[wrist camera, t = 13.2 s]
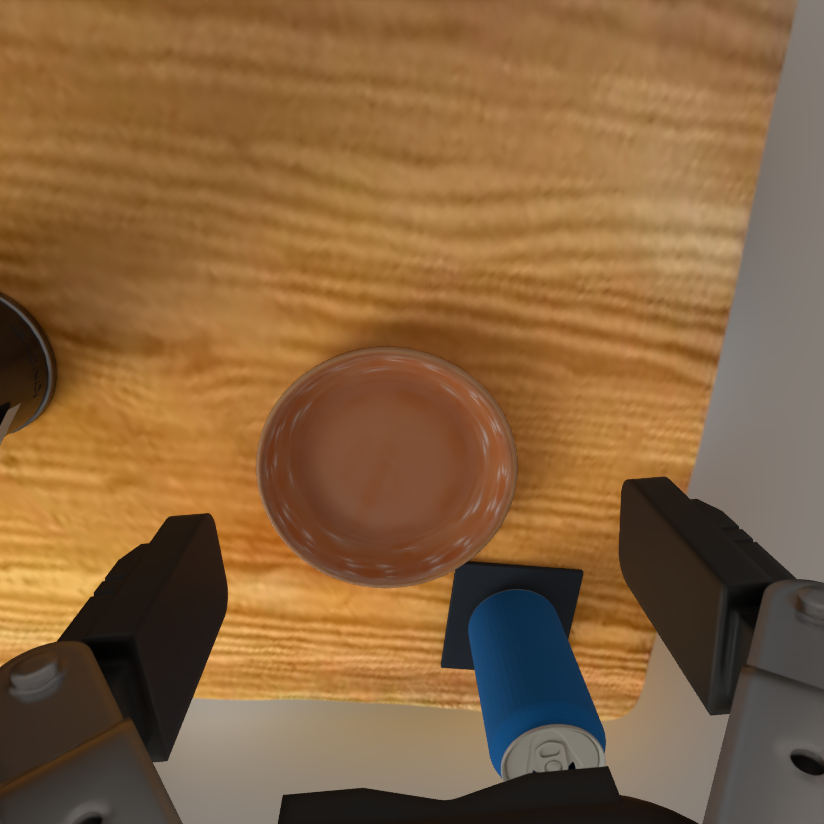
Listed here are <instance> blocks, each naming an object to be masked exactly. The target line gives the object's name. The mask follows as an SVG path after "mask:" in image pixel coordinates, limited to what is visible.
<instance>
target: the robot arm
mask: <svg viewBox="0 0 824 824" xmlns="http://www.w3.org/2000/svg"><path fill="white" fill-rule="evenodd" d="M55 385H56V363H55V358H54V354H53V351H52V348H51V345H50V343H49V341H48V339H47V337H46V335H45V333H44V332H43V330H42V329H41V327H40V326H39V324H38V323H37V322H36V321H35V319H34V318H33V317H32V316H31V315H30V314H29V313H28V312H27V311H26V310H25V309H24V308H23V307H22V306H20V305H19V304H18V303H16V302H15V301H14V300H12V299H11V298H9V297H8V296H6V295H4V294H2V293H0V444H1V442H2V440H3V438H4V437H5V436H7V435H8V434H11V433H14V432H16V431H18V430H20V429H22V428H24V427H25V426H27V425H28V424H30V423H32V422H33V421H34V420H36V419H37V418H38V417H39V416H40V415H41V414H42V413H43V412H44V410H45V409H46V408H47V406H48V404H49V403H50V401H51V399H52V396H53V393H54V390H55ZM619 561H620V567H621V571H622V574H623V577H624V579H625V582H626V583H627V585H628V587H629V588H630V590H631V591H632V593H633V594H634V596H635V598H636V599H637V601H638V602H639V604H640V606H641V607H642V609H643V610H644V612H645V613H646V615H647V617H648V618H649V620H650V621H651V623H652V624H653V626H654V628H655V629H656V631H657V632H658V634H659V635H660V637H661V639H662V640H663V642H664V643H665V645H666V646H667V648H668V650H669V651H670V653H671V654H672V656H673V657H674V659H675V660H676V662H677V664H678V665H679V667H680V668H681V670H682V672H683V673H684V675H685V676H686V678H687V680H688V681H689V682H690V684H691V686H692V687H693V689H694V691H695V692H696V694H697V695H698V696H699V698H700V700H701V701H702V703H703V705H704V706H705V708H706V710H707V711H708V712H709V714H710V715H722V714H730V716H729V719H728V724H727V727H726V731H725V736H724V740H723V743H722V748H721V752H720V755H719V760H718V763H717V768H716V772H715V776H714V780H713V784H712V788H711V792H710V796H709V800H708V804H707V808H706V812H705V816H704V820H703V824H824V583H822V582H817V581H812V580H803V579H796V578H795V577H794V576H793V575H792V574H791V573H790V572H789V571H788V570H786V569H785V568H784V567H783V566H782V565H781V564H780V563H779V562H778V561H777V560H775V559H774V558H773V557H772V556H771V555H770V554H769V553H768V552H767V551H765V550H764V549H763V548H762V547H761V546H760V545H759V544H758V543H757V542H753V539H752V538H751V537H750V536H749V535H748V534H747V533H746V532H744V530H742V529H739V526H738V525H737V524H736V523H735V522H734V521H733V520H731V519H730V518H729V517H728V516H727V515H726V514H725V513H724V512H723V511H721V510H719V509H717V508H715V507H713V506H711V505H708V504H707V503H704V502H702V501H700V500H698V499H689V498H688V497H687V496H686V495H685V494H684V493H683V492H682V491H681V490H680V489H679V488H678V487H677V486H676V485H675V484H674V483H673V482H672V481H671V480H670V479H668V478H667V477H652V478H640V479H628V480H625V482H624V483H623V486H622V491H621V510H620V532H619ZM227 602H228V587H227V580H226V575H225V570H224V565H223V560H222V555H221V550H220V545H219V540H218V535H217V530H216V526H215V522H214V519H213V517H212V516H211V515H210V514H209V513H205V514H192V515H180V516H170V517H168V518H167V519H166V520H165V522H164V523H163V525H162V526H161V528H160V529H159V530H158V532H157V533H156V535H155V536H154V537H153V539H152V540H151V542H150V543H148V544H140V545H139V546H138V547H136V548H135V549H133V550H132V551H131V552H129V553H128V554H127V555H125V556H124V557H122V558H121V559H120V560H118V562H117V563H116V564H115V566H114V567H113V568H112V569H111V571H110V572H109V573H108V575H107V576H106V577H105V581H103V582H102V583H101V584H100V585H99V587H98V588H97V589H96V591H95V592H94V596H93V597H90V598H89V600H88V601H87V602H86V604H85V605H84V606H83V608H82V609H81V610H80V612H79V613H78V614H77V616H76V617H75V618H74V619H73V621H72V622H71V623H70V625H69V626H68V627H67V629H66V630H65V631H64V633H63V634H62V635H61V637H60V638H59V639H58V641H57V642H54V643H49V644H45V645H42V646H39V647H36V648H34V649H31V650H29V651H26V652H24V653H22V654H20V655H18V656H17V657H15V658H13V659H11V660H10V661H8V662H7V663H5V664H4V665H2V666H1V667H0V824H182V821H181V819H180V817H179V815H178V813H177V811H176V809H175V807H174V805H173V803H172V801H171V799H170V797H169V795H168V793H167V791H166V789H165V787H164V785H163V783H162V780H161V778H160V776H159V775H158V772H157V770H156V768H155V766H154V764H153V762H163V761H168V758H169V756H170V753H171V751H172V748H173V745H174V743H175V740H176V738H177V736H178V733H179V730H180V728H181V725H182V723H183V720H184V718H185V715H186V713H187V710H188V708H189V705H190V703H191V700H192V698H193V695H194V693H195V690H196V688H197V685H198V683H199V680H200V678H201V675H202V673H203V670H204V668H205V665H206V662H207V660H208V657H209V655H210V652H211V650H212V647H213V645H214V642H215V640H216V637H217V635H218V632H219V630H220V627H221V625H222V622H223V620H224V617H225V614H226V610H227ZM278 824H698V823H696V822H695V821H693V820H691V819H689V818H687V817H685V816H682V815H681V814H678V813H677V812H674V811H672V810H670V809H667V808H665V807H662V806H659V805H657V804H654V803H651V802H648V801H644V800H640V799H637V798H633V797H628V796H622V795H619V793H618V790H617V787H616V785H615V782H614V780H613V777H612V775H611V772H610V770H609V767H608V766H604V767H593V768H581V769H570V770H559V771H548V772H536V773H528V774H525V775H522V776H519V777H516V778H513V779H511V780H508V781H505V782H502V783H499V784H496V785H493V786H491V787H488V788H485V789H482V790H479V791H476V792H474V793H471V794H468V795H465V796H462V797H459V798H456V799H452V800H436V799H430V798H424V797H418V796H411V795H405V794H399V793H392V792H386V791H379V790H373V789H367V788H357V789H346V790H334V791H323V792H312V793H300V794H289V795H283V797H282V803H281V808H280V815H279V820H278Z"/></svg>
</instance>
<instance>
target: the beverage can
mask: <svg viewBox="0 0 824 824" xmlns="http://www.w3.org/2000/svg"><path fill="white" fill-rule="evenodd" d="M468 635H469V640H470V646H471V652H472V657H473V663H474V669H475V674H476V680H477V686H478V691H479V697H480V703H481V708H482V714H483V720H484V725H485V731H486V737H487V742H488V748H489V754H490V759H491V761H492V764H493V766H494V768H495V770H496V771H497V773H498V774H499V775H500V776H501V778H502V779H503V782H505V781H508V780H511V779H513V778H516V777H519V776H522V775H525V774H528V773H536V772H548V771H559V770H570V769H581V768H593V767H604V766H605V762H606V761H605V754H604V753H605V746H606V739H605V732H604V729H603V726H602V724H601V721H600V719H599V716H598V714H597V711H596V709H595V706H594V704H593V701H592V699H591V696H590V694H589V691H588V689H587V686H586V684H585V681H584V679H583V676H582V674H581V671H580V669H579V666H578V664H577V662H576V659H575V657H574V654H573V652H572V649H571V647H570V644H569V642H568V639H567V637H566V634H565V632H564V629H563V627H562V624H561V622H560V619H559V617H558V614H557V612H556V610H555V608H554V607H553V605H552V604H551V603H550V602H549V601H548V600H547V599H546V598H545V597H543V596H541V595H540V594H537V593H535V592H532V591H529V590H523V589H512V590H505V591H502V592H498V593H496V594H494V595H492V596H490V597H488V598H487V599H485V600H484V601H483V602H482V603H480V604H479V605H478V607H477V608H476V609H475V611H474V612H473V614H472V616H471V618H470V621H469V626H468Z"/></svg>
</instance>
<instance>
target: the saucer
mask: <svg viewBox="0 0 824 824" xmlns="http://www.w3.org/2000/svg"><path fill="white" fill-rule="evenodd" d="M517 473H518V462H517V451H516V446H515V441H514V437H513V434H512V431H511V428H510V426H509V423H508V421H507V419H506V417H505V415H504V413H503V411H502V409H501V408H500V406H499V405H498V403H497V402H496V400H495V399H494V398H493V397H492V395H491V394H490V393H489V392H488V391H487V390H486V388H485V387H484V386H483V385H482V384H480V383H479V382H478V381H477V380H476V379H475V378H474V377H472V376H471V375H470V374H468V373H467V372H465V371H464V370H463V369H461V368H459V367H458V366H456V365H454V364H452V363H450V362H449V361H447V360H444V359H442V358H440V357H438V356H435V355H432V354H430V353H427V352H423V351H419V350H415V349H411V348H404V347H391V346H381V347H369V348H363V349H357V350H353V351H349V352H346V353H343V354H340V355H338V356H335V357H333V358H331V359H328V360H326V361H324V362H322V363H321V364H319V365H317V366H315V367H314V368H312V369H311V370H309V371H308V372H306V373H305V374H303V375H302V376H301V377H300V378H298V379H297V380H296V381H295V382H294V383H293V384H292V385H291V386H290V387H289V388H288V389H287V390H286V391H285V392H284V393H283V394H282V396H281V397H280V398H279V399H278V401H277V402H276V403H275V405H274V407H273V408H272V410H271V412H270V414H269V416H268V418H267V420H266V422H265V425H264V427H263V430H262V433H261V436H260V440H259V444H258V450H257V459H256V476H257V485H258V490H259V494H260V497H261V501H262V504H263V506H264V509H265V511H266V514H267V516H268V518H269V520H270V522H271V524H272V525H273V527H274V529H275V530H276V532H277V533H278V535H279V536H280V538H281V539H282V540H283V541H284V543H285V544H286V545H287V546H288V547H289V548H290V549H291V550H292V551H293V552H294V553H295V554H296V555H297V556H298V557H300V558H301V559H302V560H303V561H305V562H306V563H307V564H309V565H310V566H312V567H313V568H315V569H317V570H318V571H320V572H322V573H324V574H326V575H328V576H330V577H332V578H335V579H338V580H340V581H343V582H346V583H350V584H354V585H359V586H365V587H374V588H398V587H407V586H412V585H417V584H421V583H425V582H428V581H431V580H434V579H437V578H439V577H442V576H444V575H446V574H448V573H450V572H452V571H454V570H456V569H457V568H459V567H460V566H462V565H463V564H465V563H466V562H468V561H469V560H470V559H472V558H473V557H474V556H475V555H476V554H478V553H479V552H480V551H481V550H482V549H483V548H484V547H485V546H486V545H487V544H488V542H489V541H490V540H491V539H492V538H493V536H494V535H495V534H496V532H497V531H498V529H499V528H500V526H501V525H502V523H503V521H504V519H505V517H506V515H507V513H508V511H509V508H510V506H511V503H512V500H513V496H514V493H515V488H516V482H517Z"/></svg>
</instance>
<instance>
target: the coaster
mask: <svg viewBox="0 0 824 824" xmlns="http://www.w3.org/2000/svg"><path fill="white" fill-rule="evenodd" d="M582 577H583V571H582V570H574V569H561V568H547V567H534V566H521V565H508V564H495V563H482V562H469V561H468V562H466V563H465V564H463V565H462V566H460V567H459V568H457V569H456V570H455V574H454V581H453V588H452V594H451V601H450V607H449V614H448V621H447V627H446V634H445V640H444V647H443V654H442V660H441V668H454V669H470V670H475V669H474V663H473V657H472V652H471V646H470V640H469V635H468V626H469V621H470V618H471V616H472V614H473V612H474V611H475V609H476V608H477V607H478V605H479V604H480V603H482V602H483V601H484V600H485V599H487V598H488V597H490V596H492V595H494V594H496V593H498V592H502V591H505V590H512V589H523V590H529V591H532V592H535V593H537V594H540V595H541V596H543V597H545V598H546V599H547V600H548V601H549V602H550V603H551V604H552V605H553V607H554V608H555V610H556V612H557V614H558V617H559V619H560V622H561V624H562V627H563V629H564V632H565V634H566V637H567V639H568V638H569V633H570V629H571V625H572V621H573V616H574V612H575V608H576V603H577V599H578V595H579V590H580V586H581V582H582Z"/></svg>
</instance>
